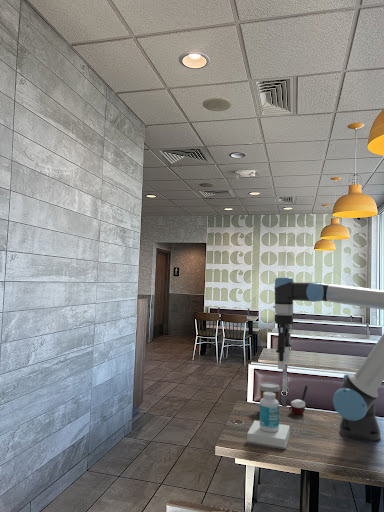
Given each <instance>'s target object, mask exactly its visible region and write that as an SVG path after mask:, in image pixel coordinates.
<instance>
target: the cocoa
mask: <svg viewBox="0 0 384 512" xmlns="http://www.w3.org/2000/svg"><path fill="white" fill-rule="evenodd" d="M308 388H309V386H308V385H305V386H304V390H303V393H302V396H301V399H294V400H292V401H290V406H289V408H288V410H289V411H290V412H291V413H292V414H294V415H296V416H297V415H298V416H301V415H303V414H304V413H305V408H306V402H305V398H306V394H307V391H308Z"/></svg>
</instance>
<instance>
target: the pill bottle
mask: <svg viewBox="0 0 384 512" xmlns="http://www.w3.org/2000/svg"><path fill="white" fill-rule="evenodd" d="M263 397H264V398H262V399H261V398H260V401H259V421H260V428H261V429H262V430H263V431H266V432H276V431H278V430H279V424H280V402H279V399H278V400H276V399H275V397H276V394H275V393H272V392H264V393H263Z"/></svg>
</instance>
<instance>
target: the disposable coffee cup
mask: <svg viewBox="0 0 384 512" xmlns="http://www.w3.org/2000/svg"><path fill="white" fill-rule="evenodd" d="M258 388H259V391H260V400H261V399H262V398H264V397H263V393H264V392H272V393H275V394H276V397H275V399H276V400H278V401H279V392H280V390H281V388H280V385H279V384H278V383H274V382H267V381H266V382H261V383H260V384H259V386H258Z"/></svg>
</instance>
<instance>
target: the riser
mask: <svg viewBox="0 0 384 512" xmlns="http://www.w3.org/2000/svg"><path fill="white" fill-rule="evenodd" d="M290 428H291V426H290V425H288V424H283V423H279V430H278V431H276V432H266V431H263V430H262V429H261V428H260V420H253V423H252V425H251V426H250V428H249V430H248V431H247V433H246V436H247V437H246V439H247V440H246V444H250V443H251V444H250V445H256V446H257V445H258V446H263V447H268V448H275V449H281V450H287V446H288V444H289V443H288V442H289V441H290V437H291V429H290Z"/></svg>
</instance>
